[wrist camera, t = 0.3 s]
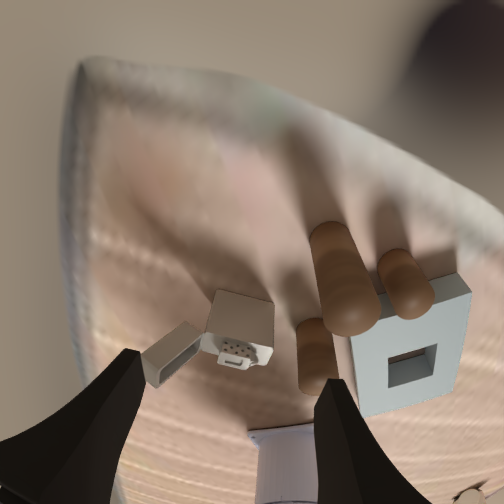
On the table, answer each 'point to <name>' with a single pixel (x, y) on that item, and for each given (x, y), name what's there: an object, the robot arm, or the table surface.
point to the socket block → (409, 339)
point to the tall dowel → (343, 282)
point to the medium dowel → (315, 356)
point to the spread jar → (471, 497)
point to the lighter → (216, 338)
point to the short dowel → (405, 284)
